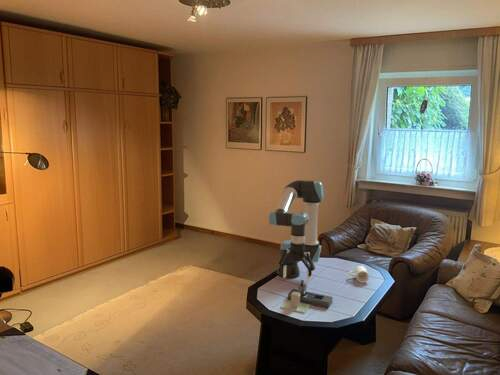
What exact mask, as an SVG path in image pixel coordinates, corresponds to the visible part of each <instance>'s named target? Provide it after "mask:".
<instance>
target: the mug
mask: <svg viewBox="0 0 500 375" xmlns="http://www.w3.org/2000/svg"><path fill="white" fill-rule="evenodd" d="M348 274H349V276H351V277H355V278H356V280H357V282H359V283H367V282H368V281H369V279H370V275H369V272H368V270H367V269H366V267H365V266H363V265H358V266H356V267H355V268H354V269H353V270H350V271H349V272H348Z"/></svg>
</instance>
